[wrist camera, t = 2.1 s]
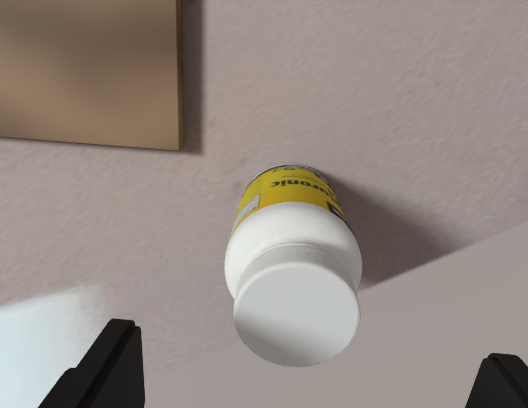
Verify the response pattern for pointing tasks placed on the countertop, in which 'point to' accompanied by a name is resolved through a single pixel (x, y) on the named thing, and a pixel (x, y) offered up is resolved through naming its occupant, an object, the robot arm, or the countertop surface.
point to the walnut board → (92, 71)
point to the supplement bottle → (293, 268)
